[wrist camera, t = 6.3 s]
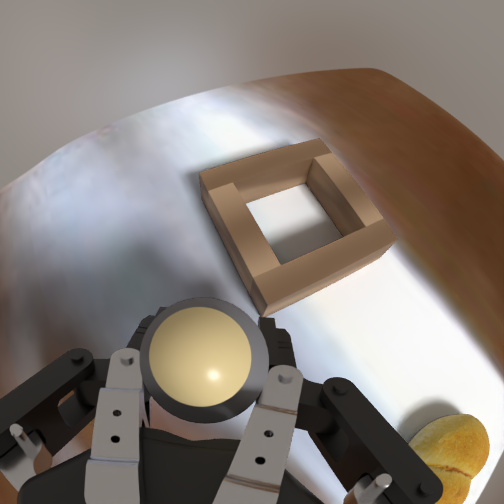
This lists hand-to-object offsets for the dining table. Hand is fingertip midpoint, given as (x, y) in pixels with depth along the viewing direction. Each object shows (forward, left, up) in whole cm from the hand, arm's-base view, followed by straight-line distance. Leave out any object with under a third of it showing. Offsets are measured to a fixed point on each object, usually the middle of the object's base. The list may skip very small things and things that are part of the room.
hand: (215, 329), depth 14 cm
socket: (-5, +8, -4) cm, 10 cm away
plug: (+2, -1, -4) cm, 5 cm away
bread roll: (+17, +9, -5) cm, 19 cm away
